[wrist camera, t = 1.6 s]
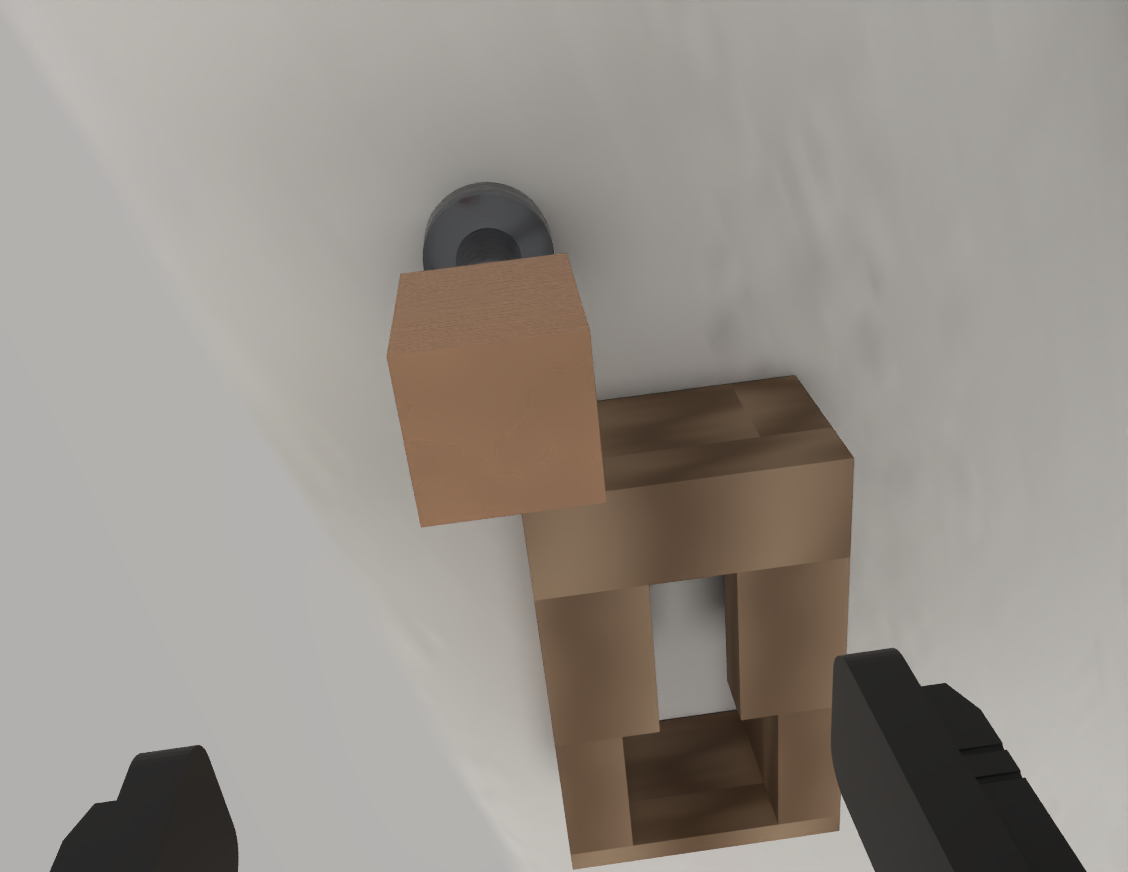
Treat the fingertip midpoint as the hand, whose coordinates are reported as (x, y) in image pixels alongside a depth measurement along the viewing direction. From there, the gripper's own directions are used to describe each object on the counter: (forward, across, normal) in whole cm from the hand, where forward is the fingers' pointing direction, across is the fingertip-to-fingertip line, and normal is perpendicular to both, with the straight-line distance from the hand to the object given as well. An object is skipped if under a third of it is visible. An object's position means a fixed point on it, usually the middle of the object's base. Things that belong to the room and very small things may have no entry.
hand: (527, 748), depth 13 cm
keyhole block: (+22, -5, +14) cm, 26 cm away
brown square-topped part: (+22, 0, 0) cm, 22 cm away
